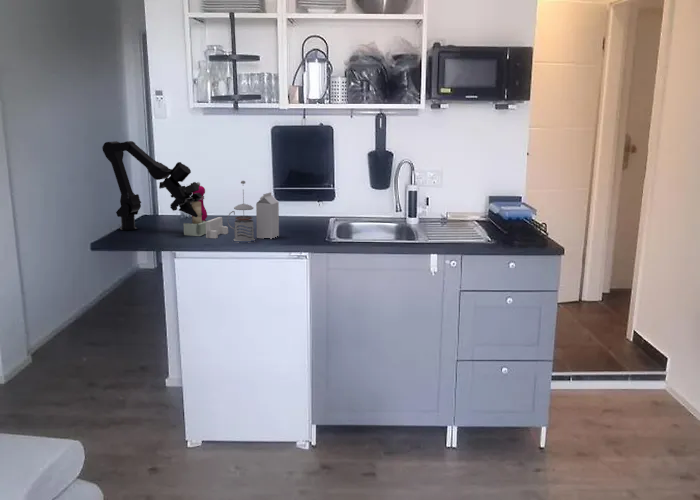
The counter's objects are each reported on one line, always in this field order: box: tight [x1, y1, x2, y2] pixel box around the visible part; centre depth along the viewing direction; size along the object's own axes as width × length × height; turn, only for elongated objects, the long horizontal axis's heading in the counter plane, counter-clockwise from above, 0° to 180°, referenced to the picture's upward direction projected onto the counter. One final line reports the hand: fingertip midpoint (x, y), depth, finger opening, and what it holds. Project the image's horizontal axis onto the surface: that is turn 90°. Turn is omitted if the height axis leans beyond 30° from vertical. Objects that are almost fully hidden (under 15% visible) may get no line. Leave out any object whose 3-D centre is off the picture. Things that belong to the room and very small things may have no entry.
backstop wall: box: [205, 216, 229, 239], centre depth 274 cm, size 4×12×7 cm, turn 165°
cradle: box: [183, 220, 207, 237], centre depth 277 cm, size 8×9×5 cm
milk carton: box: [255, 191, 280, 240], centre depth 271 cm, size 7×7×19 cm
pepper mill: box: [192, 181, 208, 221], centre depth 298 cm, size 7×7×20 cm
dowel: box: [191, 201, 202, 224], centre depth 276 cm, size 4×4×12 cm
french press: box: [227, 180, 256, 241], centre depth 263 cm, size 10×12×25 cm
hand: (199, 215), depth 275 cm, fingers closed on dowel, 4 cm apart
